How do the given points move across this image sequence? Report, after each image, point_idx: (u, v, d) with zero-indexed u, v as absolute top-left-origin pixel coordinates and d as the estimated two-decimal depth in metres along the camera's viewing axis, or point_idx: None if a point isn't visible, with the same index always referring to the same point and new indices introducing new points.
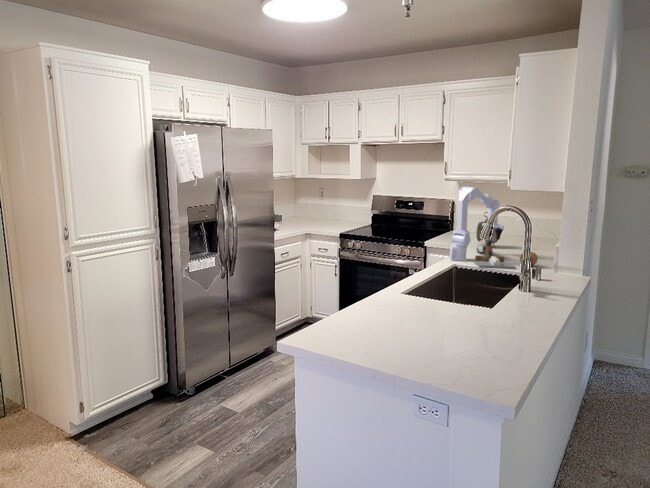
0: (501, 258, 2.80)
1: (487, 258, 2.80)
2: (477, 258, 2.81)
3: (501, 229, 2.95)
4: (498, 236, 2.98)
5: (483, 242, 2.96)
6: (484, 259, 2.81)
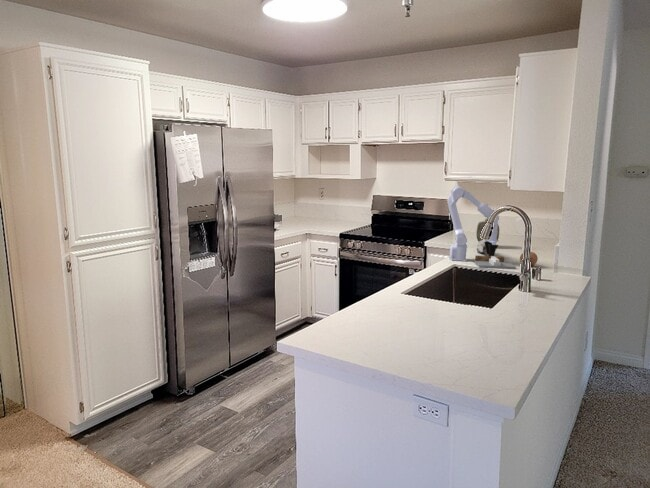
0: (501, 258, 2.80)
1: (487, 258, 2.80)
2: (477, 258, 2.81)
3: (493, 245, 2.74)
4: (491, 252, 2.77)
5: (483, 242, 2.96)
6: (484, 259, 2.81)
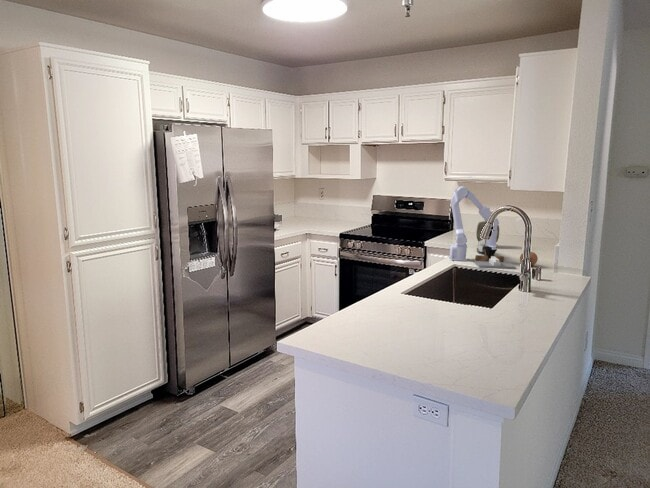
0: (501, 258, 2.80)
1: (487, 258, 2.80)
2: (477, 258, 2.81)
3: None
4: (490, 256, 2.79)
5: (483, 242, 2.96)
6: (484, 259, 2.81)
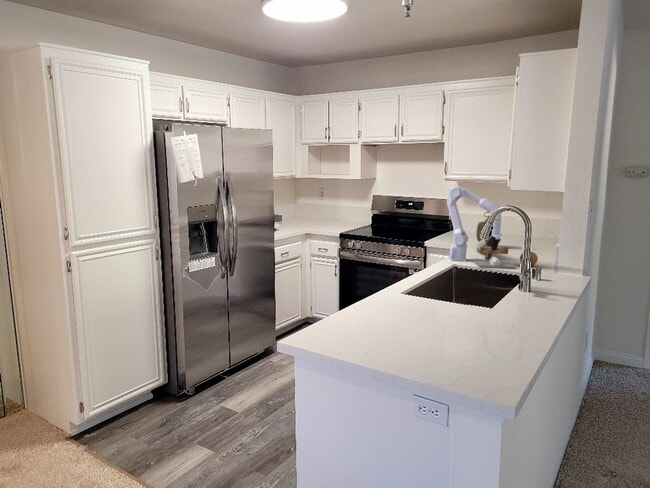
0: (505, 249, 2.73)
1: (491, 249, 2.73)
2: (481, 249, 2.74)
3: (496, 239, 2.70)
4: (494, 246, 2.72)
5: (483, 242, 2.96)
6: (488, 250, 2.74)
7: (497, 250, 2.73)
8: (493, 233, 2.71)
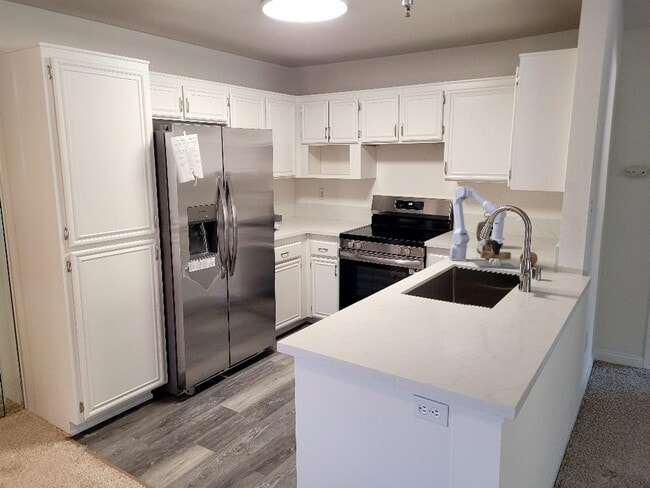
0: (508, 254, 2.67)
1: (493, 254, 2.68)
2: (483, 254, 2.69)
3: (498, 243, 2.64)
4: (496, 250, 2.67)
5: (483, 242, 2.96)
6: (490, 255, 2.68)
7: (499, 255, 2.68)
8: (495, 237, 2.66)
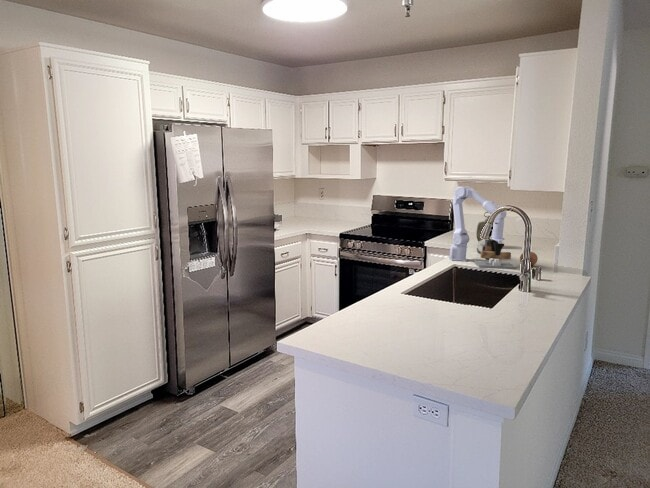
0: (508, 254, 2.68)
1: (493, 254, 2.68)
2: (483, 254, 2.69)
3: (499, 243, 2.62)
4: (497, 251, 2.65)
5: (483, 242, 2.96)
6: (490, 255, 2.68)
7: (499, 255, 2.68)
8: (495, 237, 2.66)
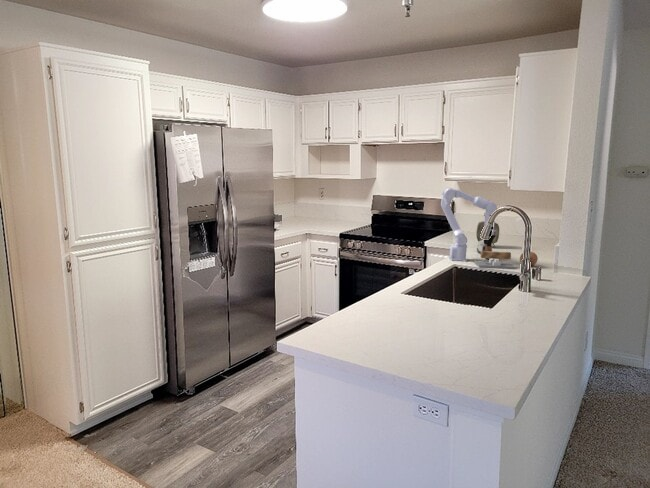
0: (508, 254, 2.68)
1: (493, 254, 2.68)
2: (483, 254, 2.69)
3: None
4: (488, 242, 2.77)
5: (483, 242, 2.96)
6: (490, 255, 2.68)
7: (499, 255, 2.68)
8: None
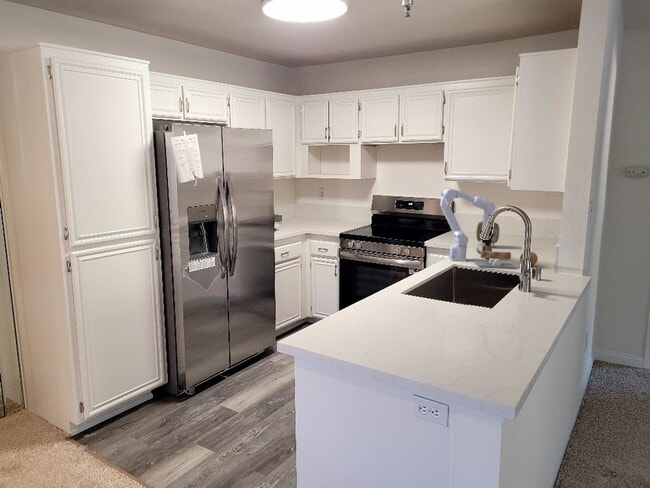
0: (508, 254, 2.68)
1: (493, 254, 2.68)
2: (483, 254, 2.69)
3: None
4: (487, 241, 2.79)
5: None
6: (490, 255, 2.68)
7: (499, 255, 2.68)
8: None
